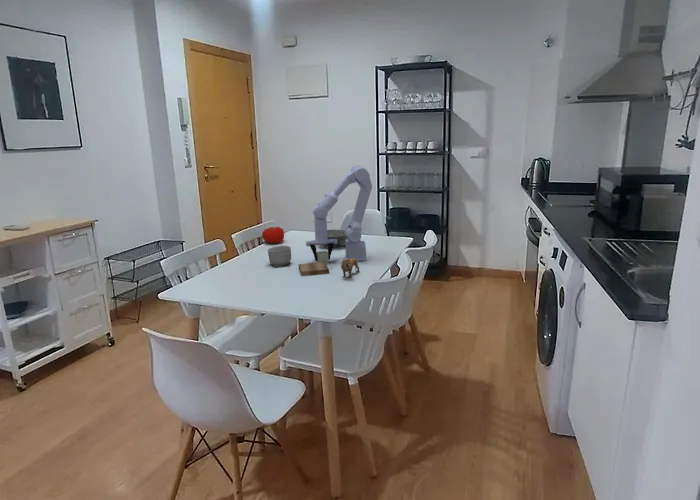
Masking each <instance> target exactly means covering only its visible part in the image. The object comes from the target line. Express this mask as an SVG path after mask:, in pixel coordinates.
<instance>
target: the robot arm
mask: <svg viewBox="0 0 700 500" xmlns="http://www.w3.org/2000/svg"><path fill="white" fill-rule="evenodd" d="M356 183H357V185H358V187H359V188H360V189H359V193H358V195H357V199H356V203H355V206H354V210H353V211H352V216H351V218H350V221H349V222H348V224H347V226H346V227H345V229H344V230H345V231H344V234H345V236H346V237H347V238H346V240H345V244H344V245H345V256H344V257H343V259H345V258H348V259H352V258H355V259H356V260H357V262H364V261H367V246H366V245H367V244H366V242H365V241H364V240H361V239H362V229H363V228H362V222H363V219H364V215H365V212H366V209H367V205H368V203H369V199H370V195H371V192H372V189H373V185H372V180H371V175H370V173H369V171H368V170H367V169H366V168H365V167H361V166H360V165H354V166H353V167H352V168H351V169H350V170H349V171H347V173H346V174H345V175H344V177H343V178H342V179H341V180H340V182H339V183H337V186H335V188H334V190H333V191H330V192H328V193H325V194H324V195H323V196H324V197H323V199H322V200H321V201H319V202H317V205H316V206H315V207H314V208H313V210H312V215H313V216H314V238H315V239H314V240H308V241H305V245H306V247H310V249H311V252H312V254H313V258H314V260H315V262H317V256H316V252H317V246H321V245H322V246H324V245H325V244H327V247H326V248H327V252H328V258H329V260H331V255H332V252H333V250H334V248H335V247H334V244H337V239H328V238H327V230H328V223H327V217H328V214H329V213H328V212H330V211H331V209H332V208H333V207H334V206H335V205H336V204H337V203H338V201H339V196H340V195H341V194H342V193H343V192H344V191H345V189H346V188H348V187H349V185H352V184H356Z"/></svg>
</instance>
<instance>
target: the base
mask: <svg viewBox="0 0 700 500" xmlns="http://www.w3.org/2000/svg"><path fill="white" fill-rule="evenodd" d="M298 271H299V272H300V275H301V277H306V276H317V275H327V274H330V269H329V267H328V265H327V264H326V263H325V262H317V261H316V262H308V263H307V262H306V263H299V264H298Z"/></svg>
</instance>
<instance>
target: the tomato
mask: <svg viewBox="0 0 700 500" xmlns="http://www.w3.org/2000/svg"><path fill="white" fill-rule="evenodd" d="M261 237H262V239H263V241H264V242H266V243H271V244H280V243H281V242H283V241H284V239H285V231H284V229H283V228H281V227H280V226H271V227H270V226H269V227H268V228H265V229H264V230H263V231H262V234H261Z"/></svg>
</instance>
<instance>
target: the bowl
mask: <svg viewBox="0 0 700 500" xmlns="http://www.w3.org/2000/svg"><path fill="white" fill-rule="evenodd" d="M344 231H345V229H344V230H343V229H327V238H328V239H337V244H334V248H336V247H340V246H343V245H345V240H346V238H347V237H346V236H345V234H344ZM323 246H324V247H326V248H328V247H327V244H325V245H323Z"/></svg>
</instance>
